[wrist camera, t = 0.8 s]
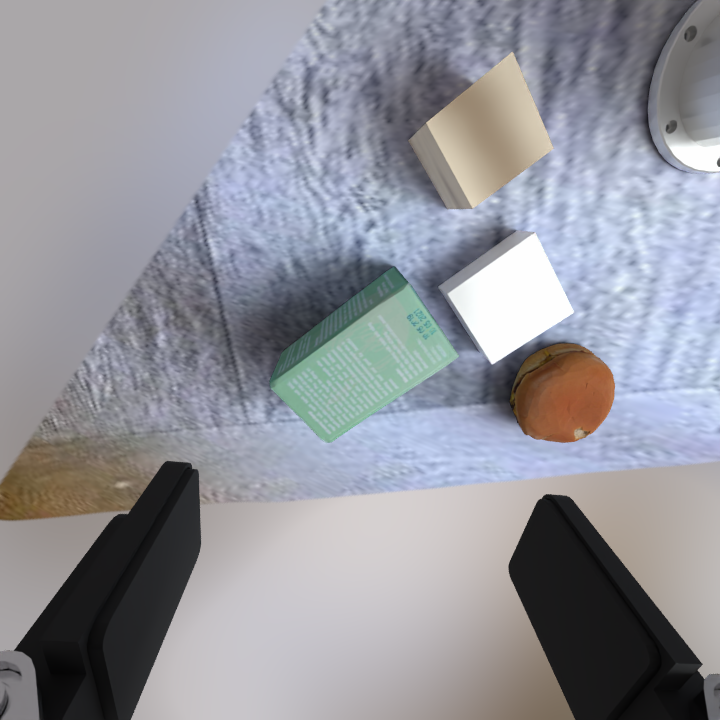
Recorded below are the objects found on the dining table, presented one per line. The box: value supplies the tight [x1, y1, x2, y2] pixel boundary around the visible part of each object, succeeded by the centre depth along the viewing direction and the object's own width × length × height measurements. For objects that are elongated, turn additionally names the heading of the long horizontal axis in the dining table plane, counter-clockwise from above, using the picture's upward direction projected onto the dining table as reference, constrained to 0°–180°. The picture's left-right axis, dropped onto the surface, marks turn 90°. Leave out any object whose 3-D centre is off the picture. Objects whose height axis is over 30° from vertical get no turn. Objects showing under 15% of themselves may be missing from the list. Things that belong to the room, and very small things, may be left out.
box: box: [269, 266, 459, 443], centre depth 30 cm, size 7×14×8 cm, turn 127°
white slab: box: [438, 231, 574, 364], centre depth 31 cm, size 8×8×3 cm
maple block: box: [408, 52, 554, 209], centre depth 25 cm, size 6×6×6 cm
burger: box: [510, 343, 615, 443], centre depth 34 cm, size 10×9×5 cm
